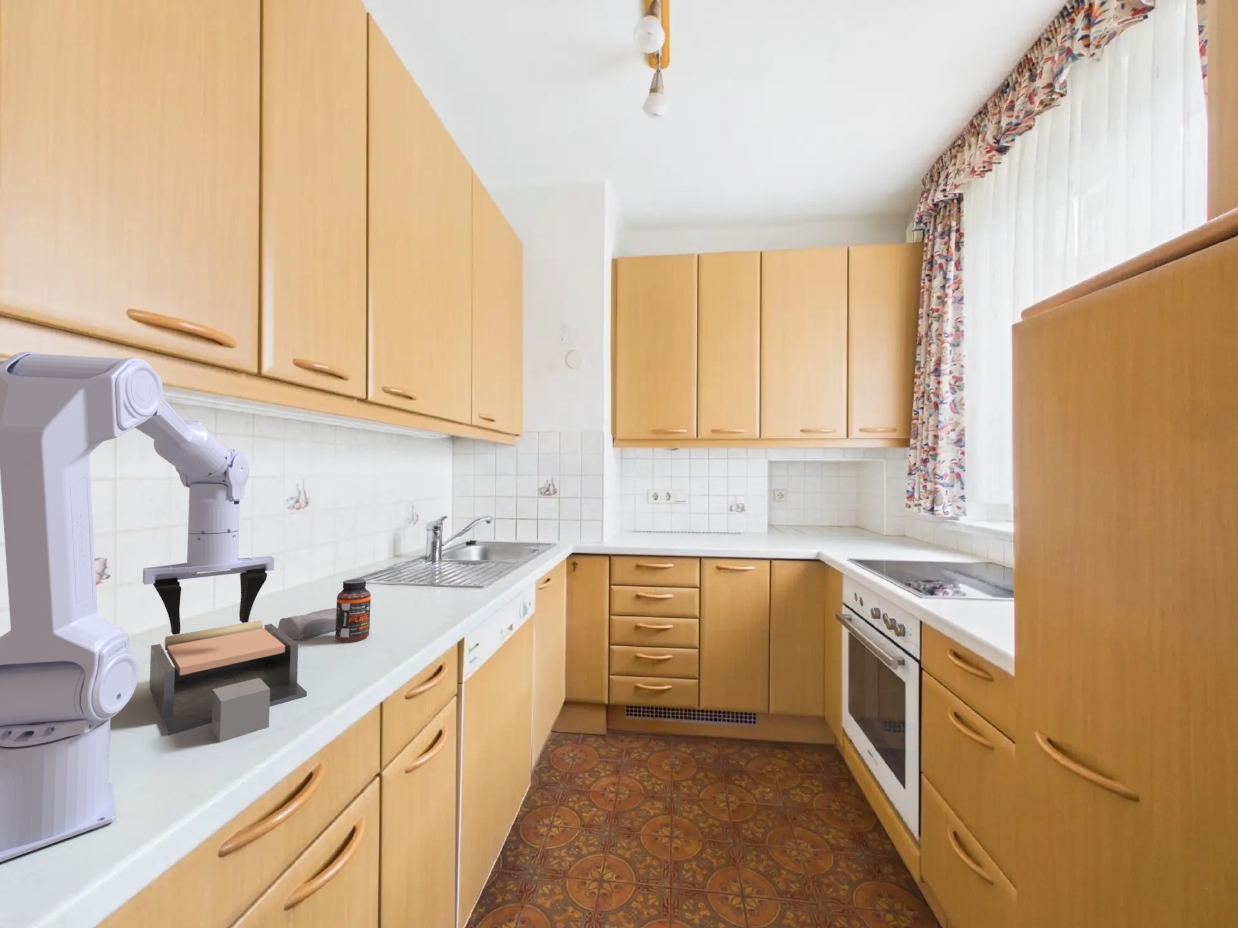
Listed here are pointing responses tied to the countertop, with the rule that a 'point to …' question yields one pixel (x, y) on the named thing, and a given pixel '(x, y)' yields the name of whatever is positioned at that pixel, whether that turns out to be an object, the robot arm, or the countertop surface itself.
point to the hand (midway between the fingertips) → (211, 626)
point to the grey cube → (240, 709)
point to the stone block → (309, 624)
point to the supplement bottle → (353, 611)
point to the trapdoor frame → (219, 683)
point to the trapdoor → (221, 647)
